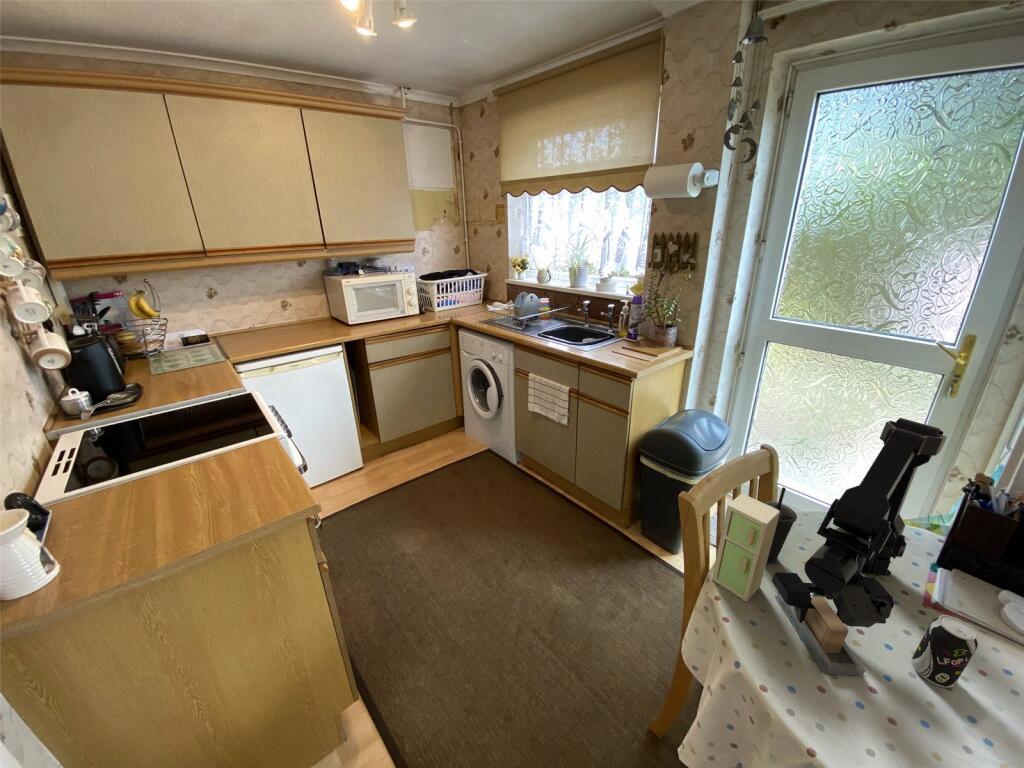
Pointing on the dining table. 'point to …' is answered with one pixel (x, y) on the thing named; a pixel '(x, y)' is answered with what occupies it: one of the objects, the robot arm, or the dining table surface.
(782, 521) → the drinking cup
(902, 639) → the dining table surface
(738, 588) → the toy refrigerator
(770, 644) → the dining table surface
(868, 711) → the dining table surface
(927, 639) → the beverage can
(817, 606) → the wooden block
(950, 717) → the dining table surface
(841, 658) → the frame
